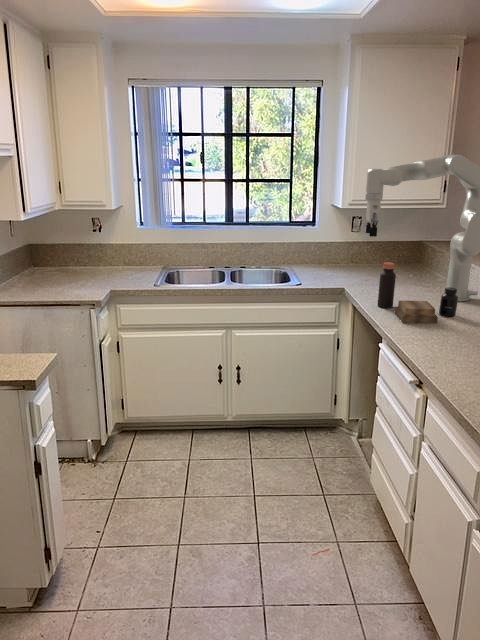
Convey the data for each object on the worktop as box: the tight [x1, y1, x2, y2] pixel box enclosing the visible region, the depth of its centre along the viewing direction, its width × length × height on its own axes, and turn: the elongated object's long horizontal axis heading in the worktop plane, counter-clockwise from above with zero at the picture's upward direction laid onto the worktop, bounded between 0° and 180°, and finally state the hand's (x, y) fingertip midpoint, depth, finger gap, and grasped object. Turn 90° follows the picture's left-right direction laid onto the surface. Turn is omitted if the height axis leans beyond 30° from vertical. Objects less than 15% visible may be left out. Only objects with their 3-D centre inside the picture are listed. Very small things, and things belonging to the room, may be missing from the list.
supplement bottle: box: [438, 286, 459, 318], centre depth 223 cm, size 7×7×12 cm
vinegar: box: [377, 261, 397, 309], centre depth 234 cm, size 7×7×20 cm
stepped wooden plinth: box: [394, 300, 438, 324], centre depth 219 cm, size 14×14×6 cm
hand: (371, 234), depth 241 cm, fingers open, 9 cm apart
